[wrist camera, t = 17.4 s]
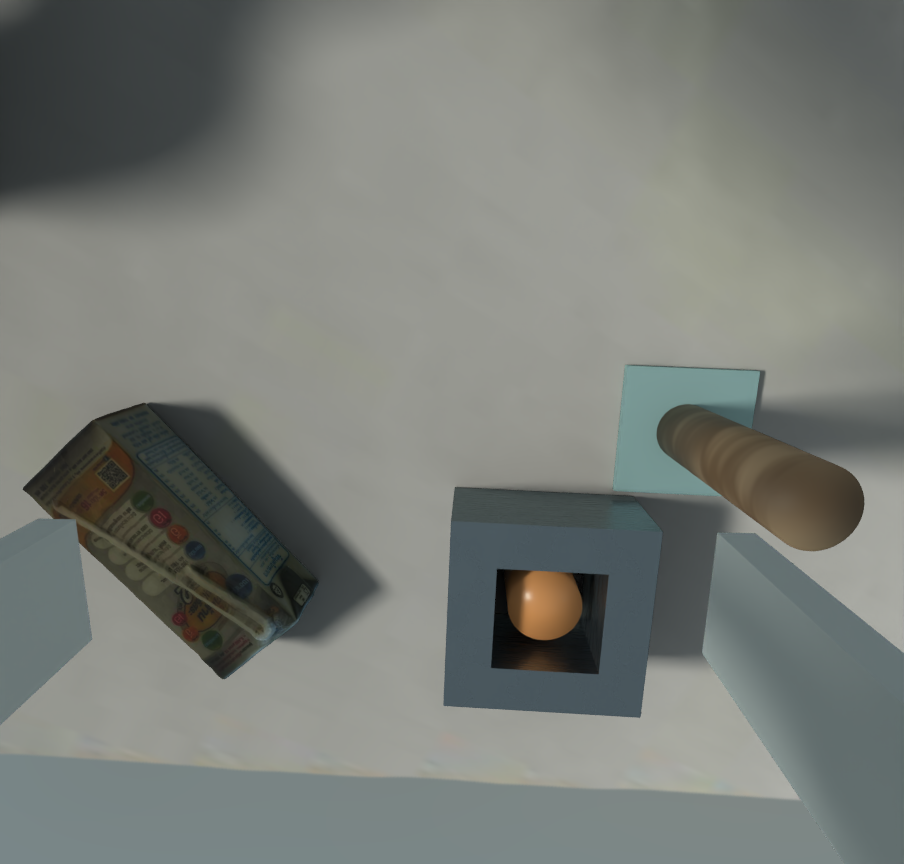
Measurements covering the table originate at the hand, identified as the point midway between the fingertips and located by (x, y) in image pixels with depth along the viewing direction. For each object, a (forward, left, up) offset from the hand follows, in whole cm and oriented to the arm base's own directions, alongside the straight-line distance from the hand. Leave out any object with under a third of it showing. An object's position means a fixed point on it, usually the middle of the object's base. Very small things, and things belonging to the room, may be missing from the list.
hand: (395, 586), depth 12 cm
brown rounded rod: (+2, +16, -30) cm, 34 cm away
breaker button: (+14, +7, -30) cm, 34 cm away
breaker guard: (+14, +7, -30) cm, 34 cm away
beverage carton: (+11, -19, -31) cm, 38 cm away
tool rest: (+2, +16, -30) cm, 34 cm away
